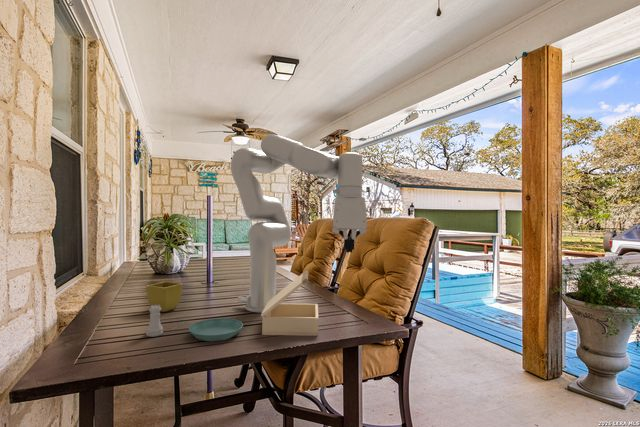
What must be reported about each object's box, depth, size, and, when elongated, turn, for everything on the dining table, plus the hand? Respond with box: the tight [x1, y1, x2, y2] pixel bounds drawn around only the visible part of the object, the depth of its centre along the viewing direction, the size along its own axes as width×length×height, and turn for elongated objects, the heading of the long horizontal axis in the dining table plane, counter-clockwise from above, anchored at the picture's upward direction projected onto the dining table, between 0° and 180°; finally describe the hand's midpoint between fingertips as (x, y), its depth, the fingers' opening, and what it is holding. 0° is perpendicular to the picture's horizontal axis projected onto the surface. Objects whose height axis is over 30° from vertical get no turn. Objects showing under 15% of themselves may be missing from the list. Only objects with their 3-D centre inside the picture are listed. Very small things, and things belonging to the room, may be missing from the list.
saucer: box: [188, 317, 244, 342], centre depth 98 cm, size 15×15×3 cm
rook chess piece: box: [145, 305, 164, 338], centre depth 97 cm, size 4×4×8 cm
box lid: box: [260, 269, 309, 318], centre depth 107 cm, size 17×16×1 cm
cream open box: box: [261, 302, 319, 337], centre depth 107 cm, size 16×16×5 cm
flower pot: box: [145, 281, 184, 313], centre depth 122 cm, size 9×9×9 cm
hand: (349, 252), depth 107 cm, fingers closed
